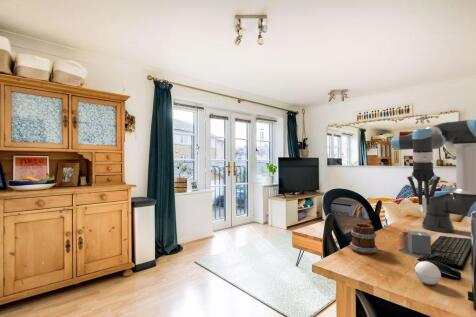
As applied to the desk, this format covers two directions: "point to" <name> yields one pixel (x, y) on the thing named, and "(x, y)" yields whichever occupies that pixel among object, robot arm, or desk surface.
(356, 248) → the brown banded cylinder
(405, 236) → the bracket
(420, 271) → the white egg
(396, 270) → the desk surface
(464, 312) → the desk surface
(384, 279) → the desk surface
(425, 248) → the squarish grey box
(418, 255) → the shaft base
